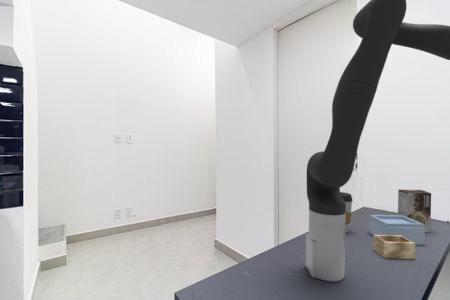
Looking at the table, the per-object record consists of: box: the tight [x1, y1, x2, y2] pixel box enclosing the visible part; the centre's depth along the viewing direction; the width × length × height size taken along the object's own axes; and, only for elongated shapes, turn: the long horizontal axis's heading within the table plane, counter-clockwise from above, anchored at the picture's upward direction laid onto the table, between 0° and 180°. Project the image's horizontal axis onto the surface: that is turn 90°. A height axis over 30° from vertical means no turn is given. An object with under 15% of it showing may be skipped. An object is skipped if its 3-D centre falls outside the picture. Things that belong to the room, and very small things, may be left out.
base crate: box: [368, 214, 426, 246], centre depth 88 cm, size 13×11×7 cm
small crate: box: [373, 235, 416, 260], centre depth 76 cm, size 9×6×5 cm, turn 88°
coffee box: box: [397, 189, 432, 233], centre depth 97 cm, size 9×6×16 cm
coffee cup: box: [340, 191, 353, 234], centre depth 96 cm, size 8×8×15 cm
